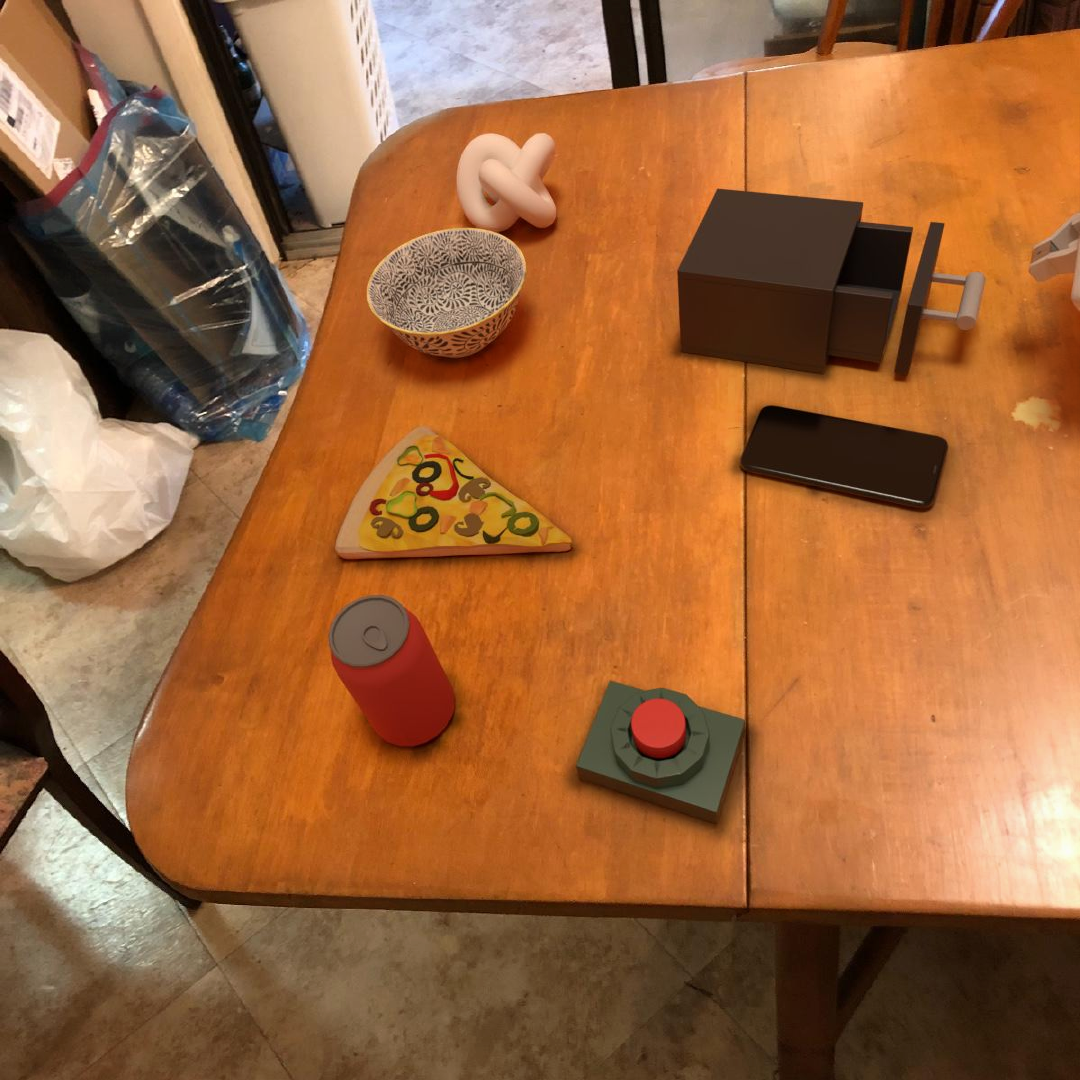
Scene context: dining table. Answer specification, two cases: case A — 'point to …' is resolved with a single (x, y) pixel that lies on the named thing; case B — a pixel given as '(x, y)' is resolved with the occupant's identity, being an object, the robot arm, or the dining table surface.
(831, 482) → the smartphone
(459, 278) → the bowl
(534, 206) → the white knot sculpture
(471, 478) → the pizza slice
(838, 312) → the pull-out drawer
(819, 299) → the drawer cabinet
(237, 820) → the dining table surface
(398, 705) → the beer can
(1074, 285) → the robot arm
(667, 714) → the button
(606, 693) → the control block
